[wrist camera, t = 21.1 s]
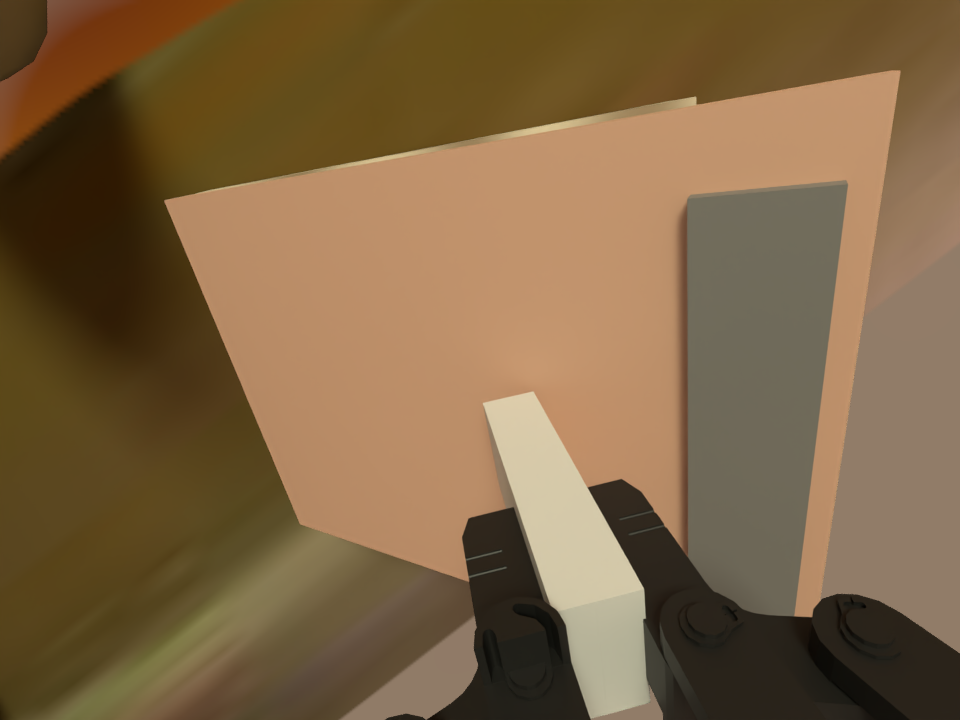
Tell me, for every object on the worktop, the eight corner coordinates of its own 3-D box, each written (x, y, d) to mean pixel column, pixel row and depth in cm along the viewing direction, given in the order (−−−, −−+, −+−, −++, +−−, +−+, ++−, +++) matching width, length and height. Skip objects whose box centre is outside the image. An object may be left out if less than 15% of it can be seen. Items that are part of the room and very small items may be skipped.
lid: (315, 510, 25) (293, 530, 23) (190, 195, 18) (152, 202, 17) (804, 663, 14) (805, 711, 13) (891, 70, 8) (905, 71, 7)
